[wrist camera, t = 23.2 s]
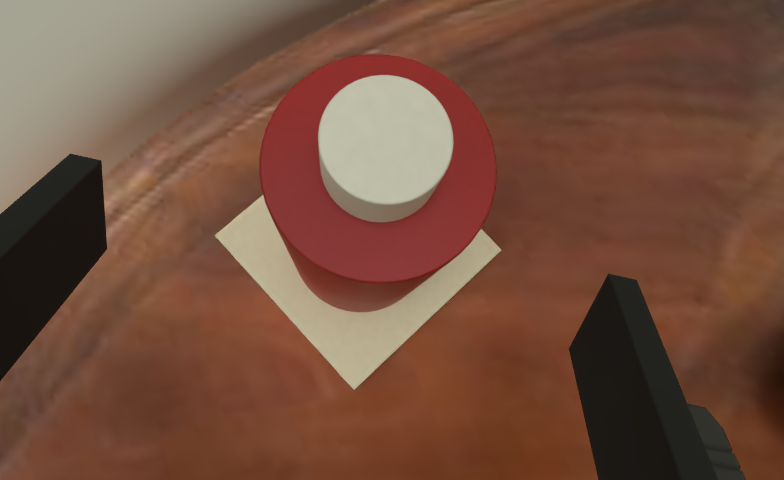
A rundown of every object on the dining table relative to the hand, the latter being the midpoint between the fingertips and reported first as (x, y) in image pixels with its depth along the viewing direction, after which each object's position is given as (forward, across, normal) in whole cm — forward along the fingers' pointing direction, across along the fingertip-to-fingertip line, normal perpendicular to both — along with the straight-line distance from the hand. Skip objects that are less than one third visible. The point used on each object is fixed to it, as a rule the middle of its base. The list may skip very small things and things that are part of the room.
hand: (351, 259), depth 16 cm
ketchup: (+9, 0, -6) cm, 11 cm away
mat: (+10, 0, -6) cm, 12 cm away
